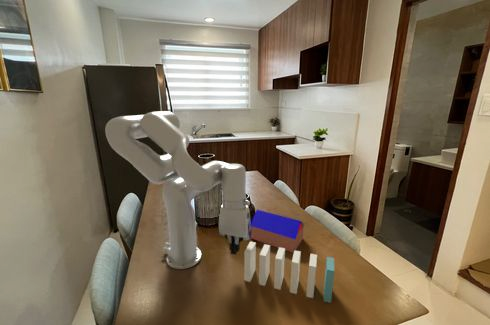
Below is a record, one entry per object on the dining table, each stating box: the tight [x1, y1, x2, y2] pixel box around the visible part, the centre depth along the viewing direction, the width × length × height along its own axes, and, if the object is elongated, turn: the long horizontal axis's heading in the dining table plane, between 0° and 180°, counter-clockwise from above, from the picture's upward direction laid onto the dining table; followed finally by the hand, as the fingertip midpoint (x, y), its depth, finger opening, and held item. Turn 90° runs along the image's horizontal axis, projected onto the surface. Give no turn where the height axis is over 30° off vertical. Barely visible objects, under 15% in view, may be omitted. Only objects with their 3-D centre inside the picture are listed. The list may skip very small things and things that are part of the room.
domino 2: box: [258, 243, 271, 287], centre depth 77 cm, size 2×6×11 cm, turn 161°
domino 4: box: [289, 249, 302, 295], centre depth 74 cm, size 2×6×11 cm, turn 161°
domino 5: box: [306, 253, 318, 299], centre depth 72 cm, size 2×6×11 cm, turn 161°
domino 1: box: [243, 241, 257, 283], centre depth 79 cm, size 2×6×11 cm, turn 161°
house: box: [250, 209, 305, 254], centre depth 100 cm, size 12×20×12 cm, turn 59°
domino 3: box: [273, 247, 286, 291], centre depth 76 cm, size 2×6×11 cm, turn 161°
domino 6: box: [323, 256, 335, 304], centre depth 71 cm, size 2×6×11 cm, turn 162°
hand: (234, 252), depth 80 cm, fingers closed
